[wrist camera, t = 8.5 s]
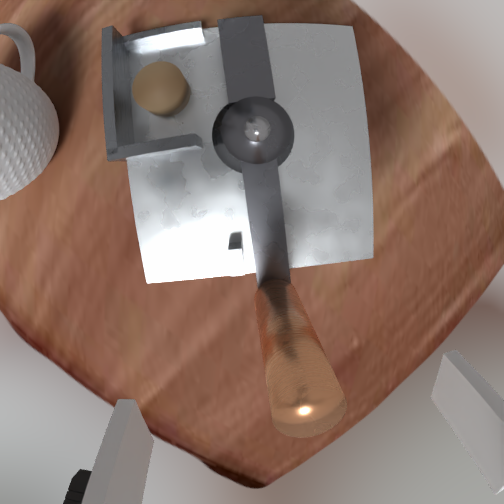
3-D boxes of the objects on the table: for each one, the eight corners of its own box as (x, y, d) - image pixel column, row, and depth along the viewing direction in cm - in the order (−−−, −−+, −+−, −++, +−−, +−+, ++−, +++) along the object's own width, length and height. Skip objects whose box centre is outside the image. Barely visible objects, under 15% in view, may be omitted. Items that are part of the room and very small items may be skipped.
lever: (209, 36, 19) (187, -80, 6) (268, 29, 19) (303, -86, 6) (248, 312, 25) (262, 444, 12) (302, 304, 25) (357, 426, 12)
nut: (141, 80, 21) (129, 70, 18) (186, 68, 21) (179, 55, 18) (148, 122, 22) (136, 117, 19) (194, 110, 22) (188, 102, 19)
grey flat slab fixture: (127, 52, 22) (102, 28, 16) (345, 34, 22) (370, 7, 16) (152, 275, 27) (133, 303, 21) (364, 251, 28) (394, 273, 22)
